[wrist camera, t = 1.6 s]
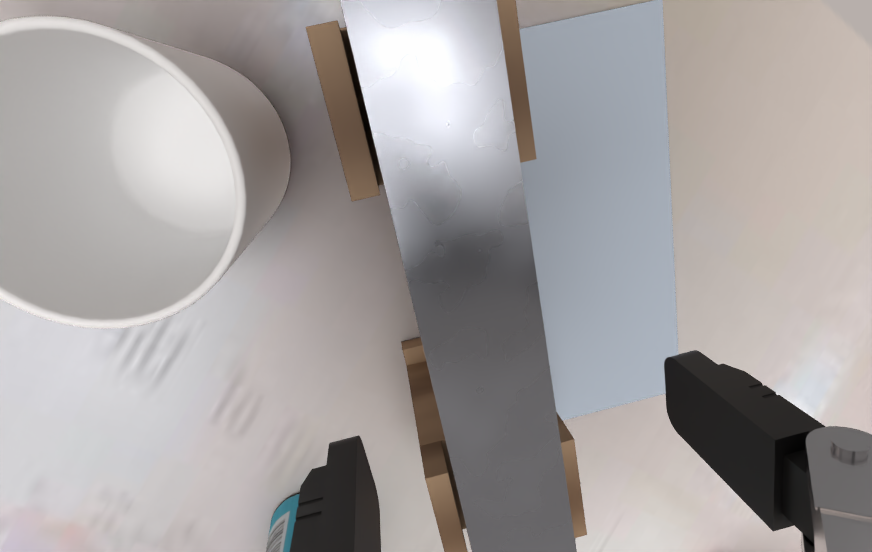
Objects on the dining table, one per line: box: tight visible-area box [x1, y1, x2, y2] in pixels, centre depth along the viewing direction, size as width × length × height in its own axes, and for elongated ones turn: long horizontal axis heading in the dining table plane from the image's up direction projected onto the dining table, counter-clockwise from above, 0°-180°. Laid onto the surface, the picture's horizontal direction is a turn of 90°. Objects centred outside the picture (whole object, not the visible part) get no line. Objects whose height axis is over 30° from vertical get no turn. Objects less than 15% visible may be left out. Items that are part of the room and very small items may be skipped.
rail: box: [340, 0, 577, 552], centre depth 18 cm, size 22×4×4 cm, turn 11°
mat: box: [519, 0, 678, 421], centre depth 28 cm, size 22×8×1 cm, turn 11°
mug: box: [0, 16, 291, 329], centre depth 18 cm, size 9×12×11 cm
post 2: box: [401, 337, 587, 552], centre depth 25 cm, size 7×6×10 cm
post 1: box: [306, 0, 537, 201], centre depth 20 cm, size 7×6×10 cm
